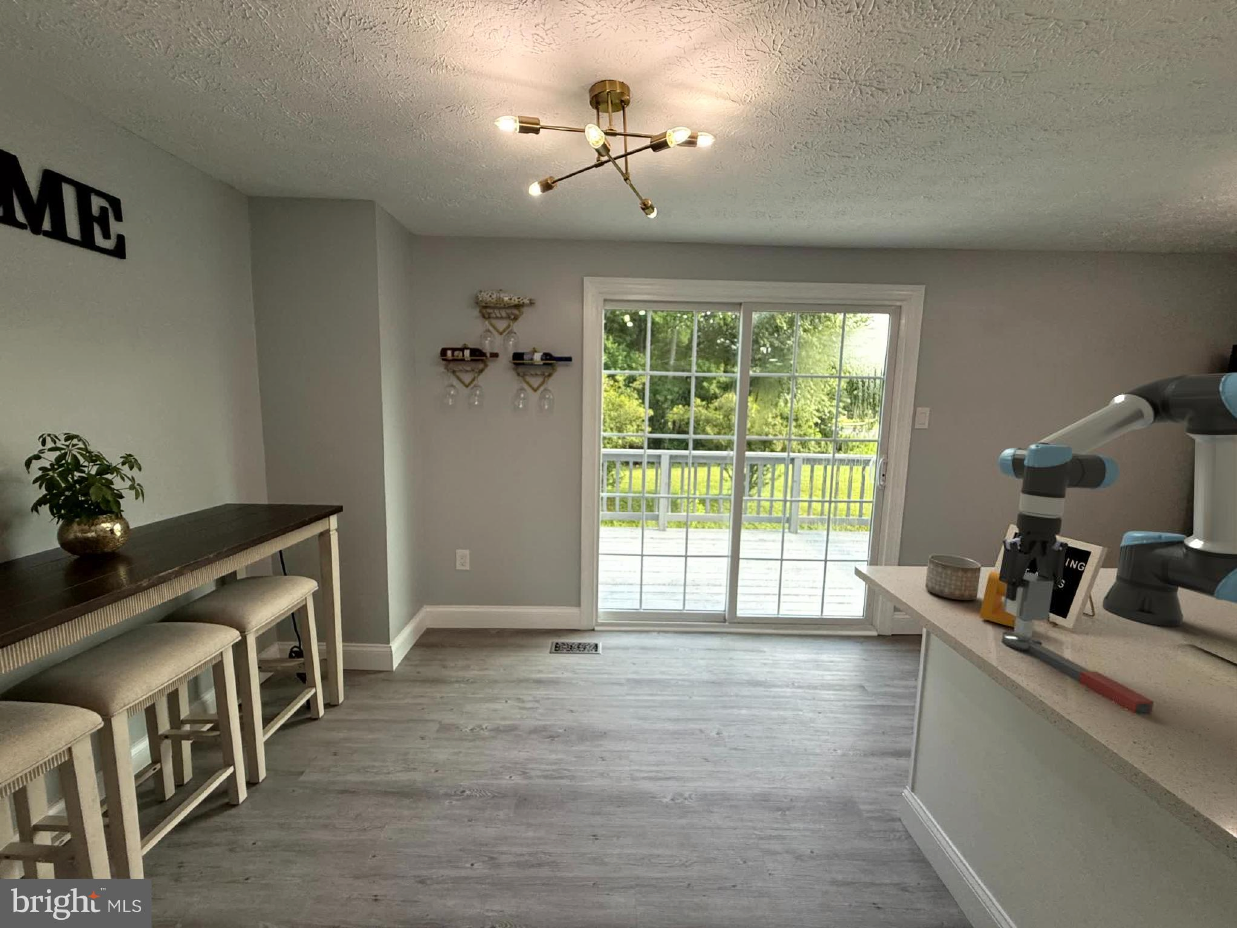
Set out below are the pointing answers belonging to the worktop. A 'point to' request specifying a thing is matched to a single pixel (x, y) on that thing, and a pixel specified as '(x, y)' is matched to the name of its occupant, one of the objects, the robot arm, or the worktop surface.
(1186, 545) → the robot arm
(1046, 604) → the gray rectangular block
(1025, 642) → the ratchet
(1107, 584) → the worktop surface
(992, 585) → the bracket
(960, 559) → the planter
